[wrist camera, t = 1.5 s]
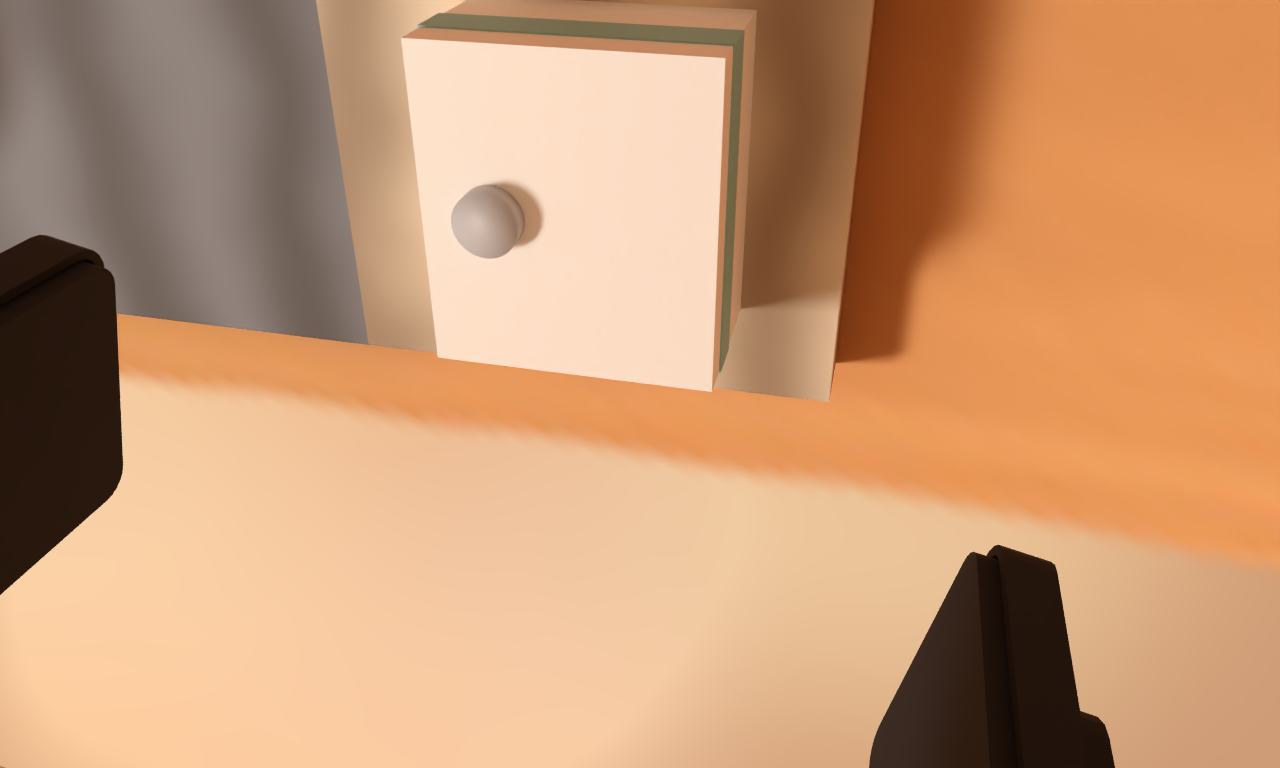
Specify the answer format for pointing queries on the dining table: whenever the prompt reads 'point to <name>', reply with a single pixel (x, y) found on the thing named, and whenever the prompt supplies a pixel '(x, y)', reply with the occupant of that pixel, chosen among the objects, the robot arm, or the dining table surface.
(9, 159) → the beige flat board
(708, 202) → the carton
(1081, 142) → the dining table surface
